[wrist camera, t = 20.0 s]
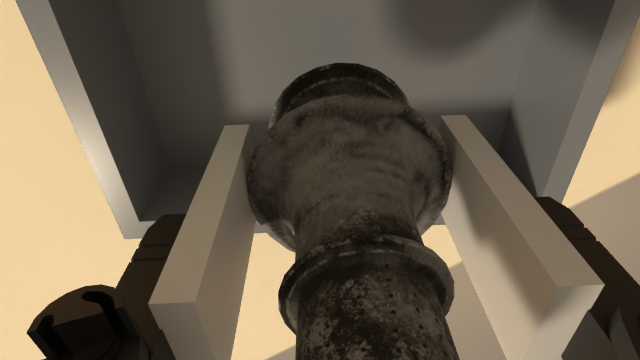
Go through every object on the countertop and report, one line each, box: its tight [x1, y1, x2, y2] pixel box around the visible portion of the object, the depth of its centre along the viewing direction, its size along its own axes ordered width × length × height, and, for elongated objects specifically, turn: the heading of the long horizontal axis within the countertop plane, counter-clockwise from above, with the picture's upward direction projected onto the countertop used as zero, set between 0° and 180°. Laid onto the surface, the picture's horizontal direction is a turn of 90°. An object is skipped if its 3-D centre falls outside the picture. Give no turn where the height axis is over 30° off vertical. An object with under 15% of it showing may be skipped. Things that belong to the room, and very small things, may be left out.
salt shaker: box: [247, 63, 460, 360], centre depth 9 cm, size 6×6×12 cm
